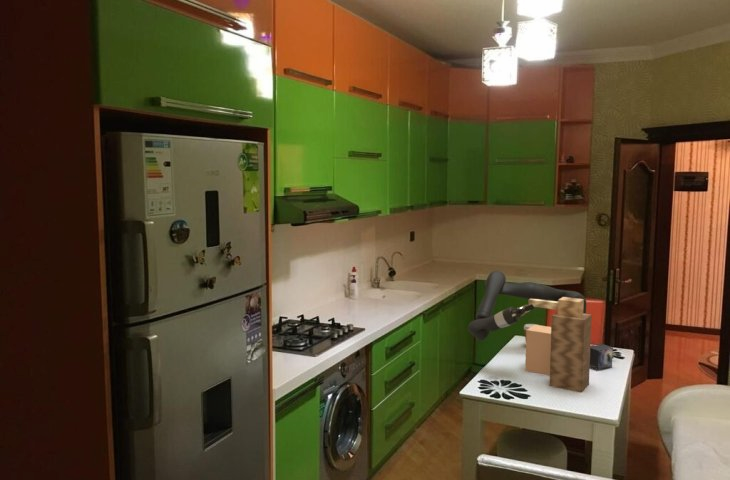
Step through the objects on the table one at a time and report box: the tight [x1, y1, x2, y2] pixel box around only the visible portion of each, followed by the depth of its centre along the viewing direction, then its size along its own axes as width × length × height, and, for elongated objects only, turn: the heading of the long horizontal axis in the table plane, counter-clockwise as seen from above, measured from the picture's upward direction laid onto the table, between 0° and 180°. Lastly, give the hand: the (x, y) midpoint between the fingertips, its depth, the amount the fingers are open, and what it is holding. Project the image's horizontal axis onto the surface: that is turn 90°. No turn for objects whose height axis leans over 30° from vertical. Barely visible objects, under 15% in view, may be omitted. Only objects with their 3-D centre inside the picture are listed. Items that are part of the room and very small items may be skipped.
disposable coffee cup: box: [523, 323, 538, 341], centre depth 314 cm, size 10×10×12 cm
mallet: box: [527, 297, 584, 318], centre depth 258 cm, size 23×7×7 cm, turn 55°
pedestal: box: [524, 324, 551, 376], centre depth 277 cm, size 14×12×20 cm
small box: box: [590, 343, 614, 372], centre depth 280 cm, size 11×6×10 cm, turn 117°
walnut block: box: [549, 311, 593, 393], centre depth 256 cm, size 14×12×32 cm
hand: (536, 304), depth 262 cm, fingers open, 8 cm apart
